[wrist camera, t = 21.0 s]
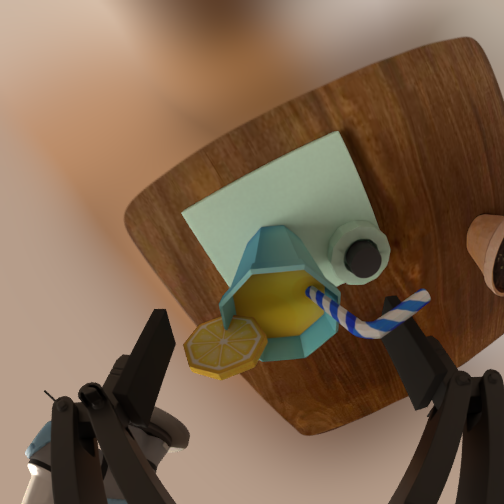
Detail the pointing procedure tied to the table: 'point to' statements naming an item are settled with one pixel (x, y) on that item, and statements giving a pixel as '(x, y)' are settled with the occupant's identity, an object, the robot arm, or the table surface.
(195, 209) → the scale
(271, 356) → the cup
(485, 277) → the potted plant
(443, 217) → the table surface
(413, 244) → the table surface
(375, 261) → the tare button
